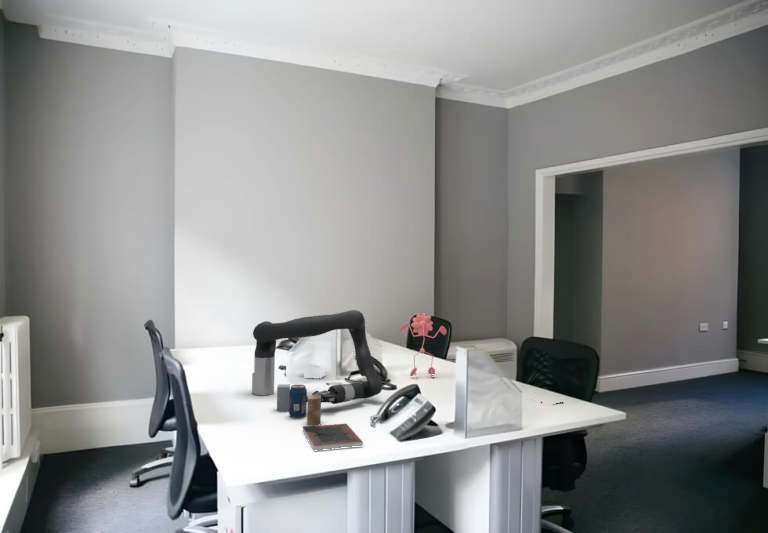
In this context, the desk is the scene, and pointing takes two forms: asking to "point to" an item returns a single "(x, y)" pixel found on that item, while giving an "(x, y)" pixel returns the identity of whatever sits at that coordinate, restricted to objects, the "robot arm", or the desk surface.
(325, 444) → the picture frame
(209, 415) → the desk surface
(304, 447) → the desk surface
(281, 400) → the slate block
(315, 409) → the walnut block
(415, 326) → the pink toy figure
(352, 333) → the robot arm
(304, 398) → the soda can
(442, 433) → the desk surface
